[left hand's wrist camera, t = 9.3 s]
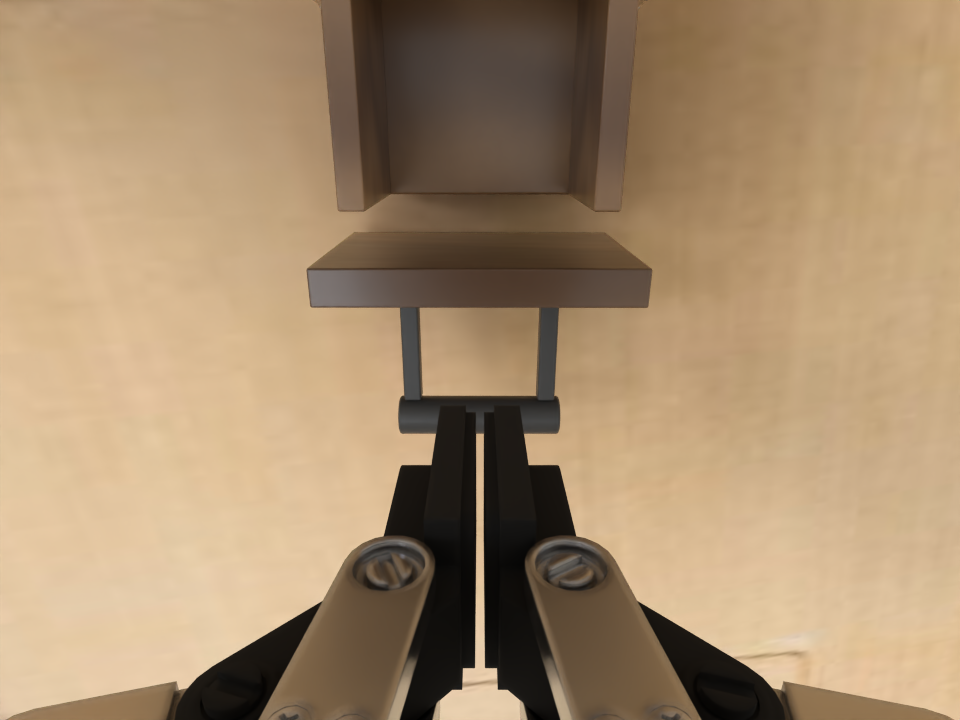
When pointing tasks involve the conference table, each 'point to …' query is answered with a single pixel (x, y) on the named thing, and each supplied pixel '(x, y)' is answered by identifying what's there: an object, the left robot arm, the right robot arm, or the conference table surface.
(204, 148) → the conference table surface
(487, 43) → the drawer
